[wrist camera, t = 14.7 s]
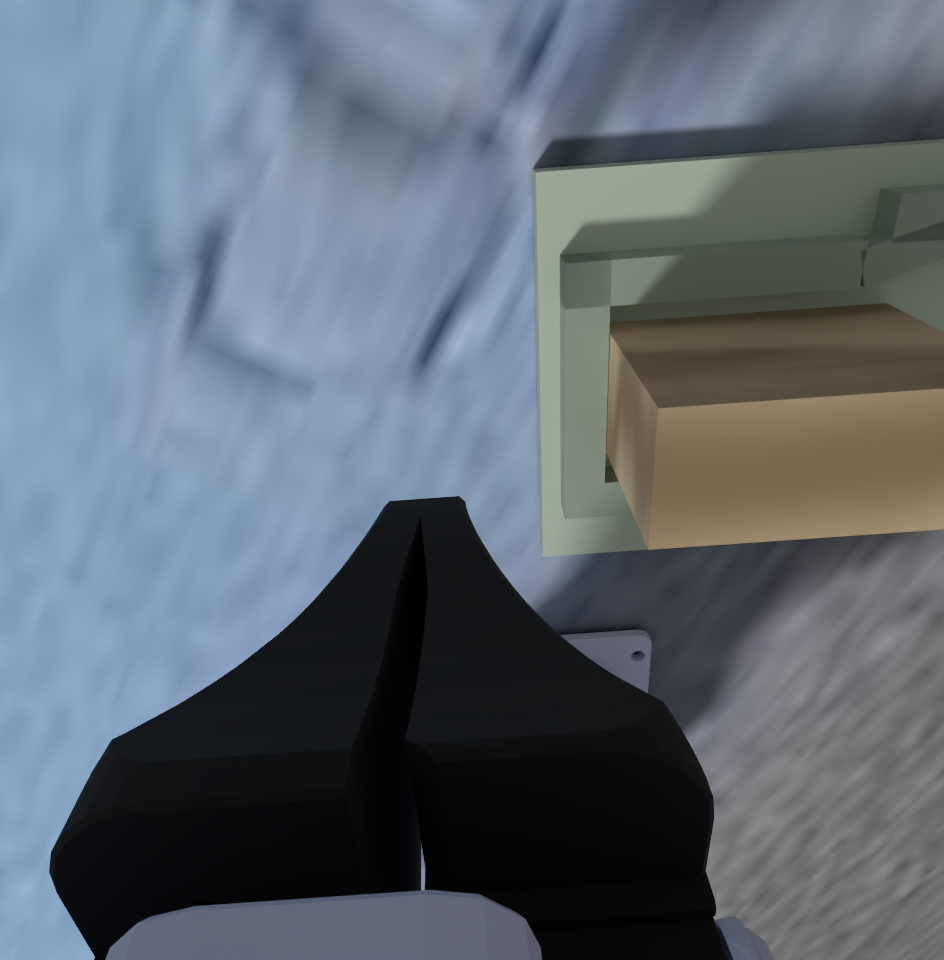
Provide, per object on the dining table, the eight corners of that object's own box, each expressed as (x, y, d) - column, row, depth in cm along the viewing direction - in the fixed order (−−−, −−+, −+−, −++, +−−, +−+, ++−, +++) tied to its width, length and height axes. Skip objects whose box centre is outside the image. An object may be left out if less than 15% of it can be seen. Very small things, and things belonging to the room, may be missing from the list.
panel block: (860, 419, 22) (990, 525, 17) (599, 437, 22) (648, 550, 17) (886, 303, 20) (1040, 381, 15) (603, 323, 20) (658, 408, 15)
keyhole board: (1088, 504, 25) (1132, 533, 23) (540, 543, 25) (546, 575, 23) (1252, 116, 19) (1326, 119, 17) (532, 168, 19) (540, 177, 17)
